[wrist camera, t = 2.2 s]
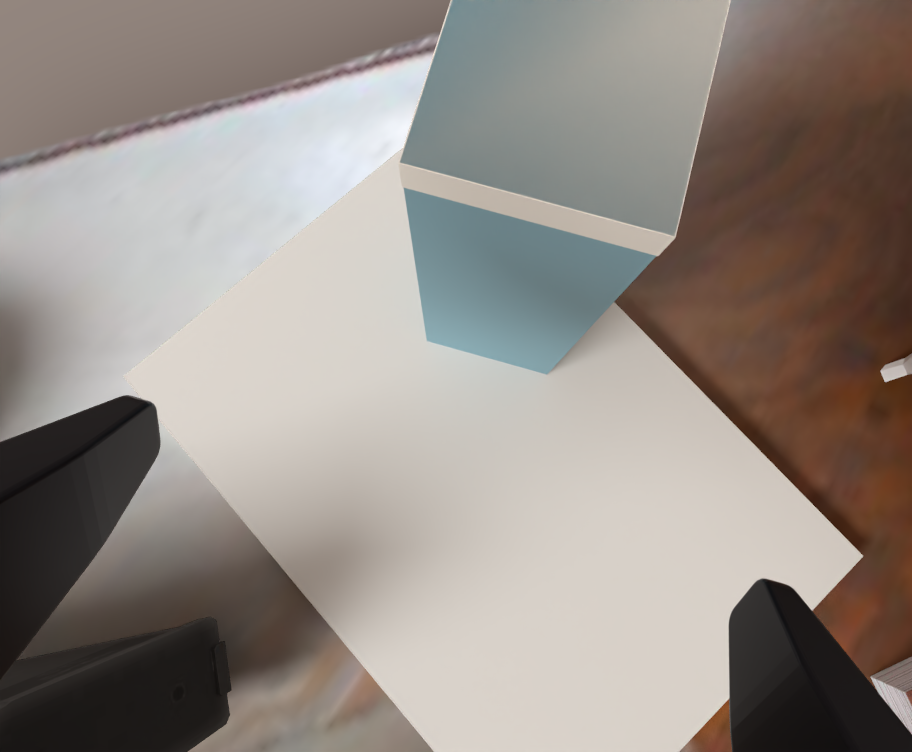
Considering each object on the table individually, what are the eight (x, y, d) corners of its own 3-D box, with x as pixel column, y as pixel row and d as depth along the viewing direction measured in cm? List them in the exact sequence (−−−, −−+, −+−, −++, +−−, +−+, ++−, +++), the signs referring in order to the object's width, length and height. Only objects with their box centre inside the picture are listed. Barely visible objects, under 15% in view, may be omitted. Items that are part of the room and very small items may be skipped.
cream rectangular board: (851, 554, 21) (863, 556, 21) (546, 877, 20) (548, 889, 19) (436, 129, 24) (436, 120, 24) (131, 379, 22) (122, 376, 22)
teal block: (577, 259, 23) (732, -6, 10) (547, 375, 22) (675, 237, 10) (460, 227, 23) (474, -72, 10) (426, 341, 22) (398, 162, 10)
